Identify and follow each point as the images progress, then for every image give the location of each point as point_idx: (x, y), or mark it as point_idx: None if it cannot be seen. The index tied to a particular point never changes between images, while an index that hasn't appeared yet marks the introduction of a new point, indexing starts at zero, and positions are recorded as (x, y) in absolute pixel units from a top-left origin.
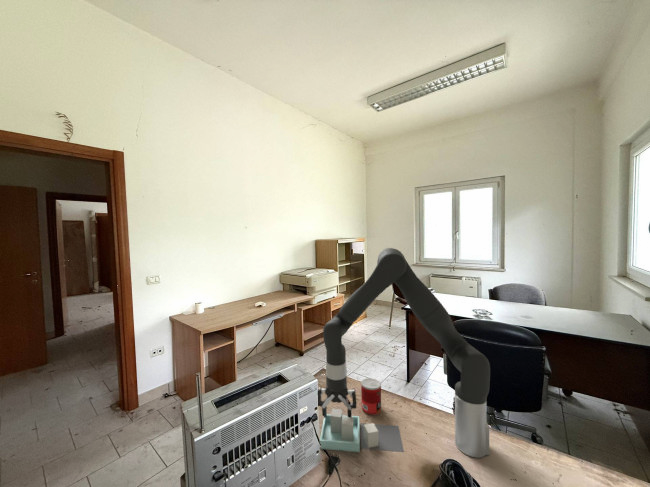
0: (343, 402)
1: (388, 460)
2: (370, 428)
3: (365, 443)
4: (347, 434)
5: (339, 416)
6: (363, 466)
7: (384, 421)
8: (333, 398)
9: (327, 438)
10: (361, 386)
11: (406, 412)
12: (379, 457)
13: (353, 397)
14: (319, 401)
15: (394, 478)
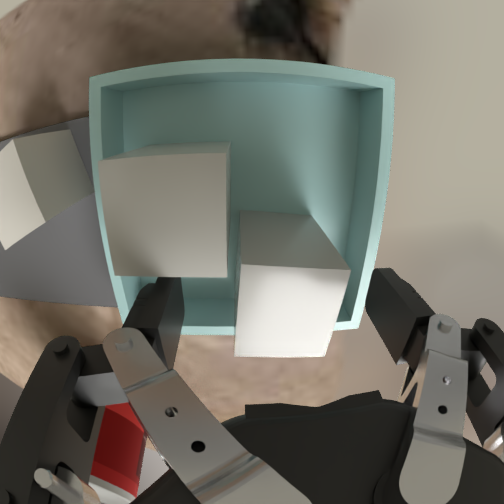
0: (191, 409)
1: (5, 93)
2: (6, 192)
3: (84, 156)
4: (178, 146)
5: (256, 274)
6: (104, 14)
7: (45, 321)
8: (381, 442)
9: (330, 161)
10: (129, 485)
11: (8, 357)
12: (31, 94)
13: (24, 454)
14: (500, 352)
15: (6, 22)
